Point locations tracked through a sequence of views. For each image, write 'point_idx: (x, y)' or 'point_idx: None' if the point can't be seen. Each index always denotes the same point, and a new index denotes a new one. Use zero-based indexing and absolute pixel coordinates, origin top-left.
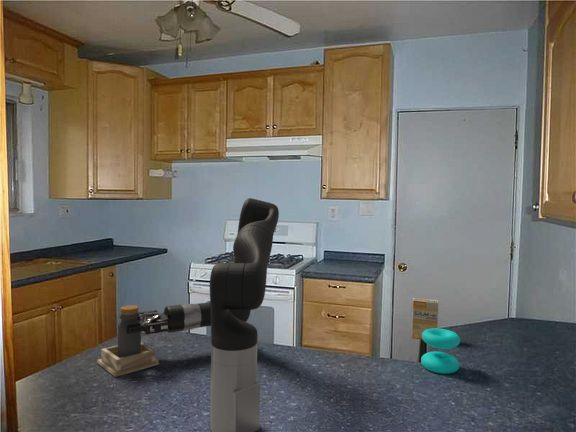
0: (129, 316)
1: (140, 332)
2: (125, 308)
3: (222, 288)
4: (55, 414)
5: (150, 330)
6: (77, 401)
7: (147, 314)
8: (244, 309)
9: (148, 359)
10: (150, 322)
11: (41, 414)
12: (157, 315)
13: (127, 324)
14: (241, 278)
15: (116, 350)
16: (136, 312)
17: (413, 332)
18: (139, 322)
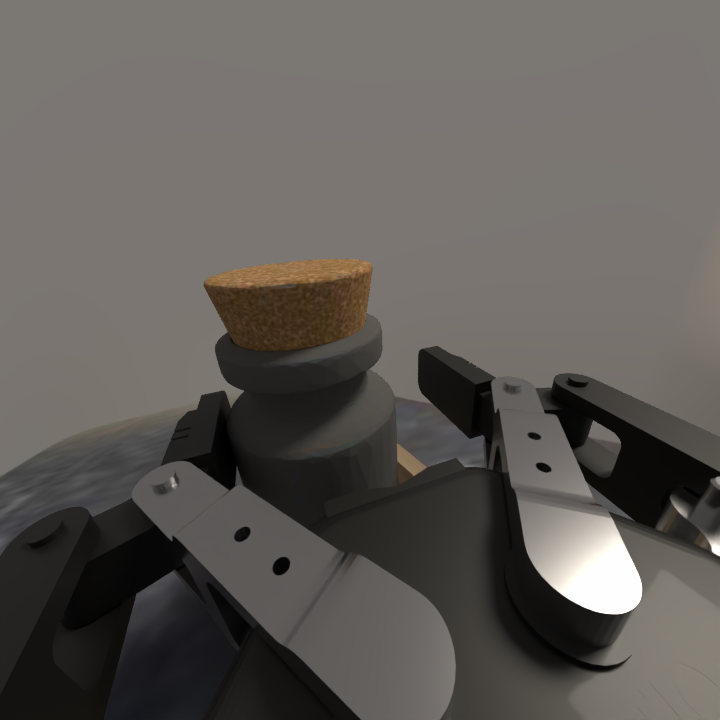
0: (219, 339)
1: (299, 523)
2: (258, 267)
3: None
4: (71, 463)
5: (219, 625)
6: (103, 486)
7: (501, 449)
8: None
9: None
10: (184, 557)
11: (103, 441)
12: (357, 628)
13: (245, 391)
14: None
15: (403, 480)
16: (247, 334)
17: None
18: (287, 445)
